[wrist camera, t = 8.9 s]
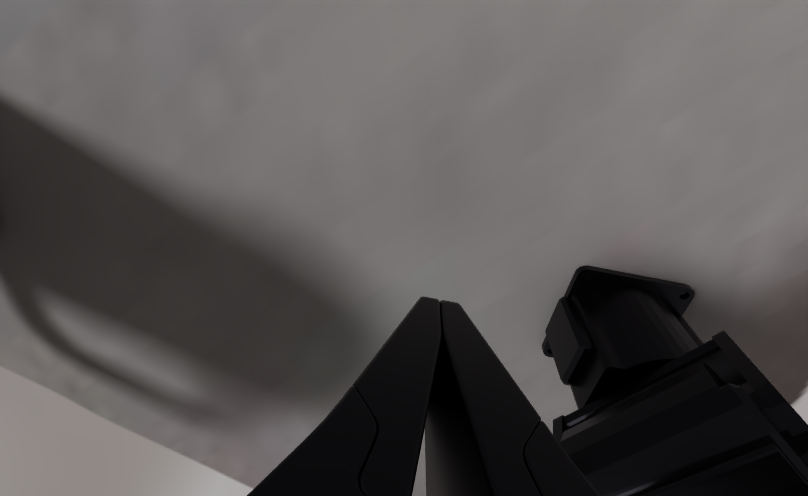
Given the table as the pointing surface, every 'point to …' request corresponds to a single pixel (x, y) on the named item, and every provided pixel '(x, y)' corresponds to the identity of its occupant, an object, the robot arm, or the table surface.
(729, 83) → the table surface
